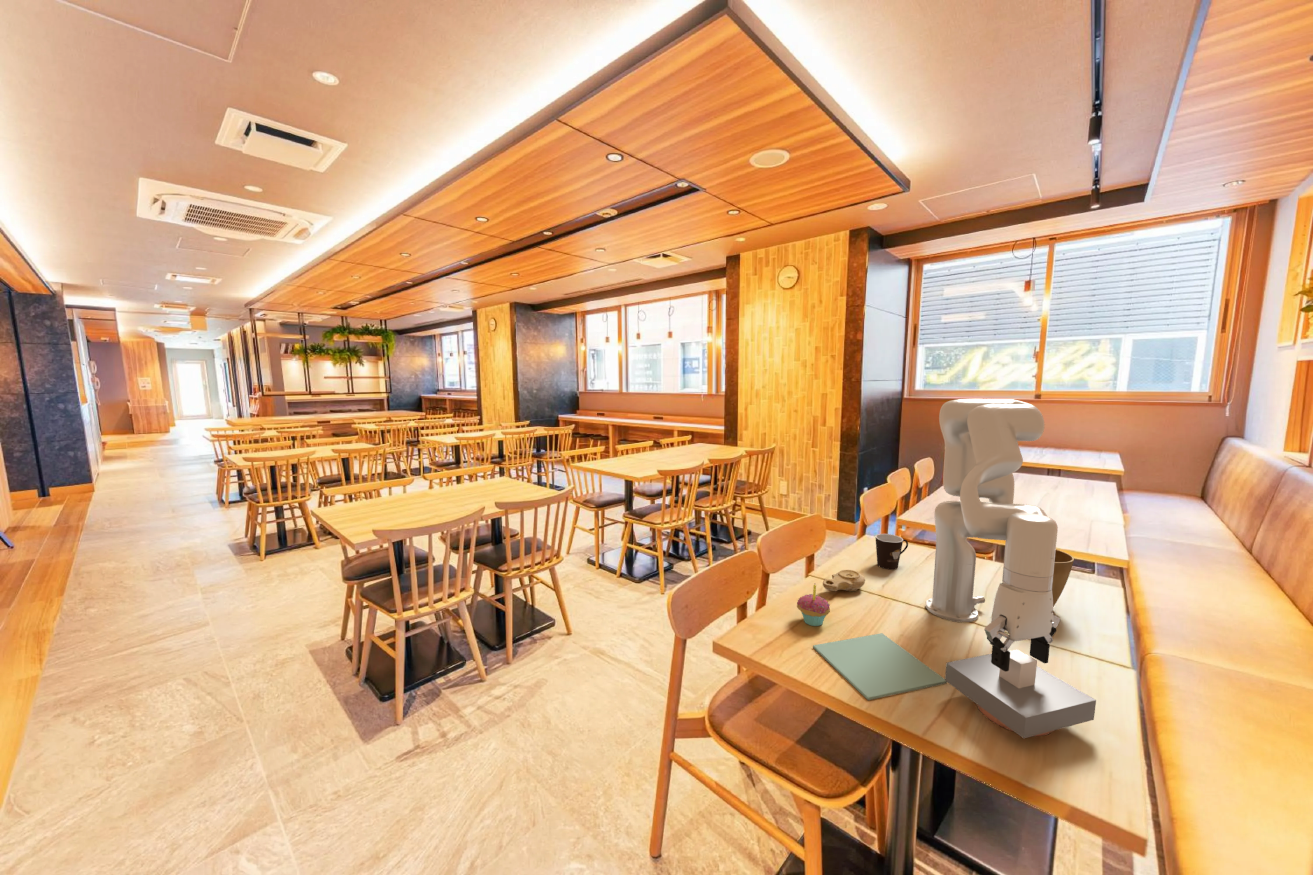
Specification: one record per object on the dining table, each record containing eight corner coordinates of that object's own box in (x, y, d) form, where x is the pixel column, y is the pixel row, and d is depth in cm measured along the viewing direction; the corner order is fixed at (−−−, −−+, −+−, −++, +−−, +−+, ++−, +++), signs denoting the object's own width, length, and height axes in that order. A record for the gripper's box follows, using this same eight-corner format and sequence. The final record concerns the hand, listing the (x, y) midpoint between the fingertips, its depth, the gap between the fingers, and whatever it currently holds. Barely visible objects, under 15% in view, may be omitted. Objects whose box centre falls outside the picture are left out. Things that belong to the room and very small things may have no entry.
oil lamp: (820, 594, 148) (820, 579, 147) (832, 577, 160) (833, 563, 159) (857, 603, 142) (857, 587, 141) (867, 585, 154) (868, 570, 153)
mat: (881, 635, 125) (882, 633, 125) (946, 683, 106) (947, 680, 106) (812, 647, 120) (813, 645, 120) (868, 700, 101) (868, 697, 101)
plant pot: (1079, 611, 136) (1085, 556, 134) (1049, 624, 129) (1055, 566, 127) (1020, 590, 149) (1024, 539, 147) (990, 600, 143) (995, 548, 140)
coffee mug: (877, 570, 165) (879, 541, 163) (870, 560, 173) (872, 533, 172) (914, 572, 163) (916, 543, 162) (906, 562, 171) (907, 534, 170)
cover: (1007, 666, 106) (1011, 628, 105) (1093, 719, 90) (1099, 674, 89) (944, 680, 102) (947, 640, 101) (1023, 738, 86) (1028, 691, 85)
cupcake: (831, 631, 127) (833, 587, 125) (797, 628, 129) (799, 585, 127) (827, 615, 135) (828, 573, 134) (795, 612, 137) (796, 571, 135)
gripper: (1041, 566, 98) (1034, 646, 101) (973, 576, 94) (966, 659, 96) (1082, 581, 91) (1073, 667, 93) (1010, 592, 87) (1002, 682, 89)
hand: (1019, 663), depth 95 cm, fingers open, 9 cm apart
